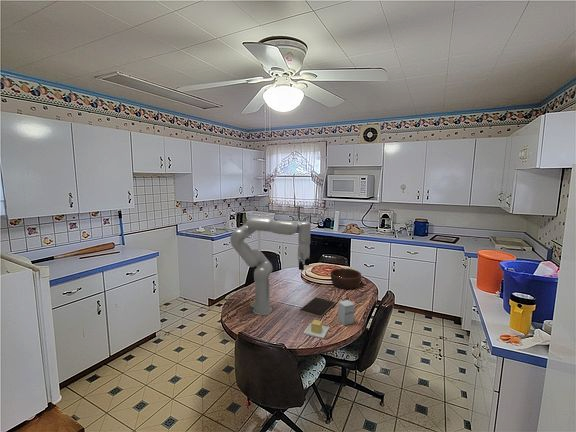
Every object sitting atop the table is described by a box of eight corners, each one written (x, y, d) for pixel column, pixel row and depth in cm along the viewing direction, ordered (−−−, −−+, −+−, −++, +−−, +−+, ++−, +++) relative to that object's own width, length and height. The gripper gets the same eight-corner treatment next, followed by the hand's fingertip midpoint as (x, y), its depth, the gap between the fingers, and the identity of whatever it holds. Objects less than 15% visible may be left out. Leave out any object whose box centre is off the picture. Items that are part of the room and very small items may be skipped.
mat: (303, 334, 164) (303, 332, 164) (310, 324, 175) (310, 322, 175) (323, 339, 160) (323, 337, 159) (329, 328, 170) (329, 327, 170)
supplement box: (344, 325, 174) (344, 306, 172) (337, 320, 180) (337, 301, 179) (354, 323, 177) (354, 304, 175) (347, 318, 183) (347, 299, 182)
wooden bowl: (327, 280, 250) (327, 268, 248) (354, 279, 252) (355, 267, 251) (334, 291, 225) (335, 279, 223) (365, 290, 228) (366, 278, 226)
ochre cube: (311, 331, 166) (311, 323, 165) (313, 327, 171) (314, 319, 170) (319, 333, 164) (319, 325, 163) (321, 329, 169) (322, 321, 168)
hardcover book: (335, 305, 203) (335, 302, 202) (320, 318, 183) (321, 315, 183) (314, 299, 211) (314, 296, 211) (299, 312, 192) (299, 309, 191)
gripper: (303, 237, 189) (303, 263, 191) (293, 243, 173) (293, 270, 176) (314, 239, 186) (314, 264, 188) (305, 244, 170) (304, 272, 173)
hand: (304, 267), depth 182 cm, fingers open, 9 cm apart
